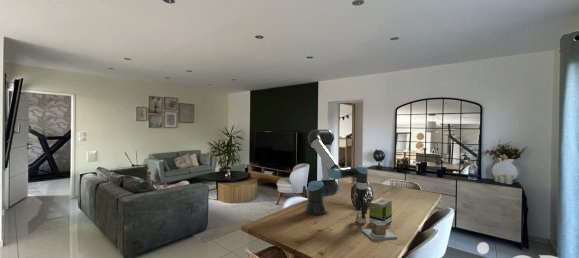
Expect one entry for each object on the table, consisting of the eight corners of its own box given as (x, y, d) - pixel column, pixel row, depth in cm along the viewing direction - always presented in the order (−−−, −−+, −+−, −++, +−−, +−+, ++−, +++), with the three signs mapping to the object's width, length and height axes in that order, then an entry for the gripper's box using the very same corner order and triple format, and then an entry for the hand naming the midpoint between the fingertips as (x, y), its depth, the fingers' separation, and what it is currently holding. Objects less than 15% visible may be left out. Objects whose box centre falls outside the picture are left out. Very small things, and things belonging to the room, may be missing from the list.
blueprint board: (361, 230, 160) (361, 228, 160) (383, 229, 163) (383, 227, 163) (372, 240, 147) (372, 238, 147) (397, 238, 150) (397, 236, 150)
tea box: (378, 217, 185) (379, 197, 185) (392, 221, 178) (392, 200, 178) (368, 222, 175) (369, 201, 174) (382, 227, 167) (383, 204, 167)
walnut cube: (371, 231, 157) (371, 221, 157) (380, 230, 158) (380, 221, 158) (376, 235, 151) (377, 225, 151) (385, 234, 152) (386, 224, 152)
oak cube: (355, 220, 177) (356, 213, 177) (362, 220, 178) (362, 213, 178) (359, 223, 172) (359, 216, 172) (365, 223, 173) (366, 215, 173)
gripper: (350, 185, 183) (350, 217, 184) (362, 191, 166) (361, 226, 166) (360, 184, 185) (359, 216, 185) (373, 191, 167) (372, 226, 167)
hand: (360, 221), depth 176 cm, fingers closed on oak cube, 5 cm apart
